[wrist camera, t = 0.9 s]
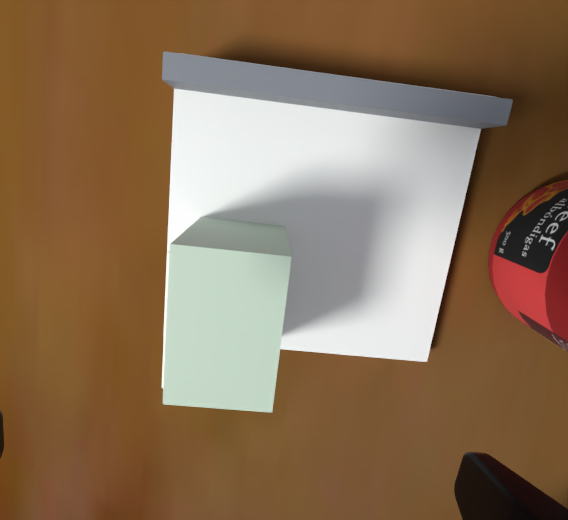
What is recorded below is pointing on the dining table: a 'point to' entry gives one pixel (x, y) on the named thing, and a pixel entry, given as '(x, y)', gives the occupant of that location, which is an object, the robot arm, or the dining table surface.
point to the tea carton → (225, 314)
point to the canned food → (535, 261)
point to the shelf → (332, 189)
